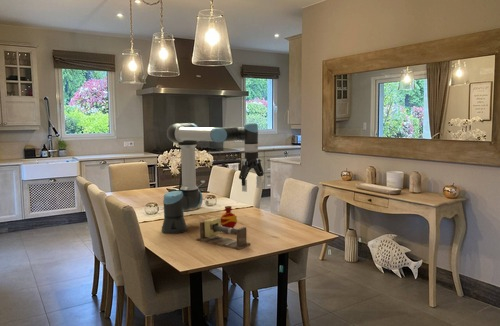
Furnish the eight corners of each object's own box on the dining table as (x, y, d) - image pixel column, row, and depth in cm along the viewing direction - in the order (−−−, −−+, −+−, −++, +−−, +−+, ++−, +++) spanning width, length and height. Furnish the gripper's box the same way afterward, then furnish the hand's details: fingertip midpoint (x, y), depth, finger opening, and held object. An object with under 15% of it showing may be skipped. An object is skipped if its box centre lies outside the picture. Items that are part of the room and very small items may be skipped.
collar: (204, 236, 222) (204, 220, 221) (215, 232, 230) (215, 217, 229) (210, 237, 220) (210, 221, 219) (221, 233, 227) (220, 218, 226)
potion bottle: (222, 234, 236) (221, 209, 235) (218, 229, 246) (218, 205, 245) (239, 232, 239) (239, 207, 237) (235, 228, 249) (235, 204, 247)
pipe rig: (196, 240, 226) (196, 222, 225) (208, 235, 234) (208, 218, 233) (239, 250, 208) (238, 231, 207) (250, 244, 216) (250, 226, 215)
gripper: (243, 153, 210) (243, 193, 213) (269, 150, 230) (269, 186, 233) (231, 153, 215) (232, 192, 217) (258, 149, 235) (259, 185, 237)
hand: (251, 189), depth 225 cm, fingers open, 13 cm apart
